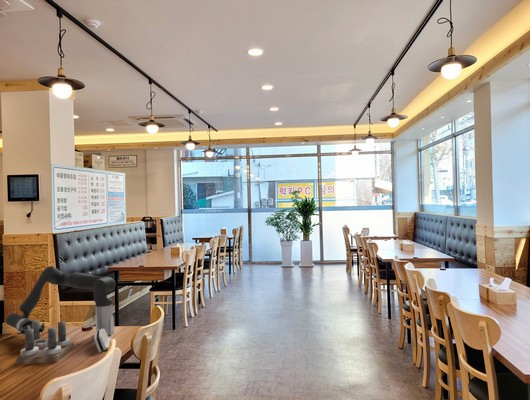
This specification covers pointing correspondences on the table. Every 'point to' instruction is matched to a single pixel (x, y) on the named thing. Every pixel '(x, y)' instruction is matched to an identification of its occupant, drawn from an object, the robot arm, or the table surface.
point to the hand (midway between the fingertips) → (37, 331)
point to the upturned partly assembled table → (45, 346)
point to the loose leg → (36, 329)
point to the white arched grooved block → (102, 340)
